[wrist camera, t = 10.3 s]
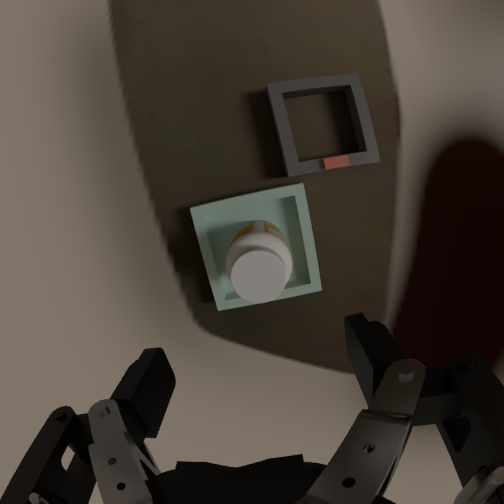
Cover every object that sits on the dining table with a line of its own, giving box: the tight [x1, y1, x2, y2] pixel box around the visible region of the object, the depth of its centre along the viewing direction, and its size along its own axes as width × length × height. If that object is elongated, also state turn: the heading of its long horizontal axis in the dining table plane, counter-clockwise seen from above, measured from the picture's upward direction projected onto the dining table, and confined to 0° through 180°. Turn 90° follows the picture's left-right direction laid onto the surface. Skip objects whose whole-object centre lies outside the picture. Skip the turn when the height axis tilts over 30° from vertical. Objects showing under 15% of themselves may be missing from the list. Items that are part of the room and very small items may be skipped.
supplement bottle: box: [225, 220, 292, 303], centre depth 24 cm, size 5×5×10 cm
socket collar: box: [266, 74, 380, 177], centre depth 25 cm, size 9×9×3 cm
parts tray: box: [190, 182, 322, 311], centre depth 29 cm, size 11×11×2 cm
